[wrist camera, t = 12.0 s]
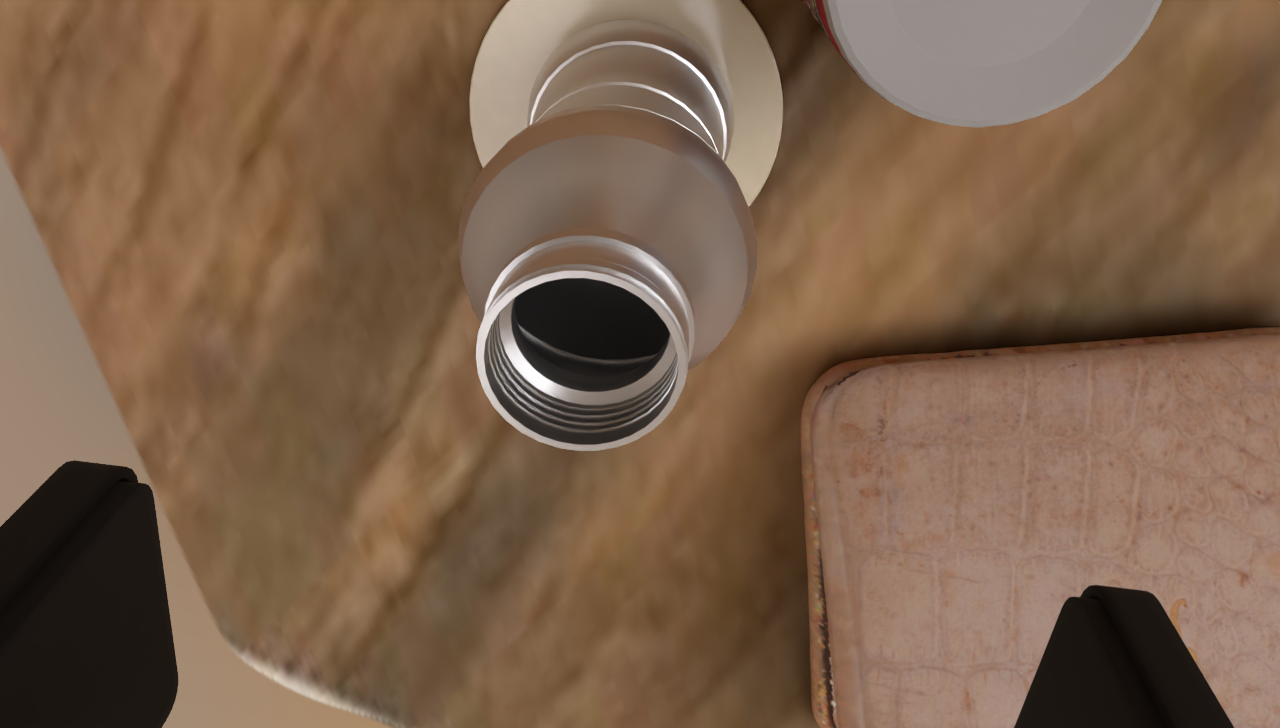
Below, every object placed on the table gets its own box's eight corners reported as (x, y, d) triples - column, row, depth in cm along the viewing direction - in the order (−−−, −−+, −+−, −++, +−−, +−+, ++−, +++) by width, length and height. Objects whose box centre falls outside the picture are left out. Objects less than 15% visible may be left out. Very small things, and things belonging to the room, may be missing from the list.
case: (1348, 297, 38) (1743, 568, 24) (1252, 714, 47) (1494, 1088, 33) (795, 335, 40) (853, 608, 26) (807, 730, 49) (855, 1093, 35)
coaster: (476, -71, 34) (473, -70, 33) (808, -32, 34) (809, -31, 33) (467, 242, 39) (464, 247, 38) (756, 276, 39) (756, 280, 38)
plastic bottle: (540, 0, 34) (375, 168, 16) (742, 15, 34) (799, 200, 16) (536, 187, 37) (393, 502, 19) (723, 201, 37) (752, 532, 19)
